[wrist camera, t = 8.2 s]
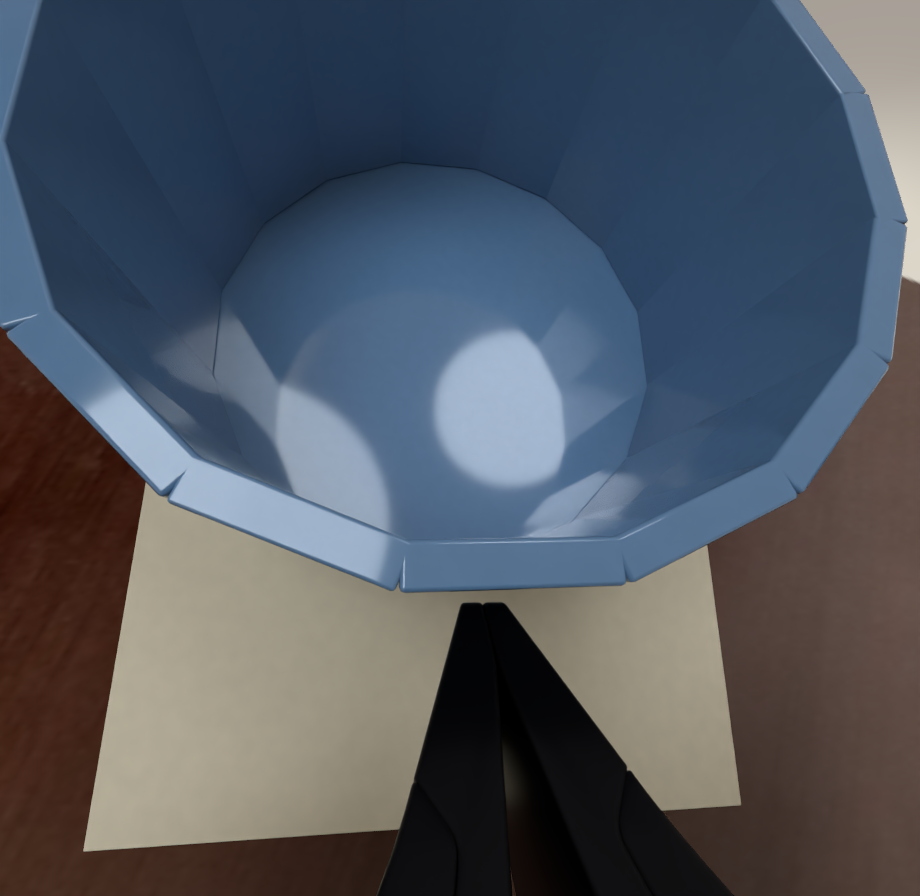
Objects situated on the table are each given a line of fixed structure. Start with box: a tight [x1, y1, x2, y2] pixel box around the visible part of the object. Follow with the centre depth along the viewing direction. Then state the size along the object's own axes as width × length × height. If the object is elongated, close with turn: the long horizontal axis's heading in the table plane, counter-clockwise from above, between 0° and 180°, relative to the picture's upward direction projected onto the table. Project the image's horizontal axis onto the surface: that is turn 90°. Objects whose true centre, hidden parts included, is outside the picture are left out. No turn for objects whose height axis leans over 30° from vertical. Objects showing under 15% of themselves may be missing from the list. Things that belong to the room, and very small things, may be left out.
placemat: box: [83, 483, 741, 851], centre depth 17 cm, size 20×19×1 cm
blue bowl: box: [0, 0, 907, 593], centre depth 13 cm, size 16×16×10 cm
